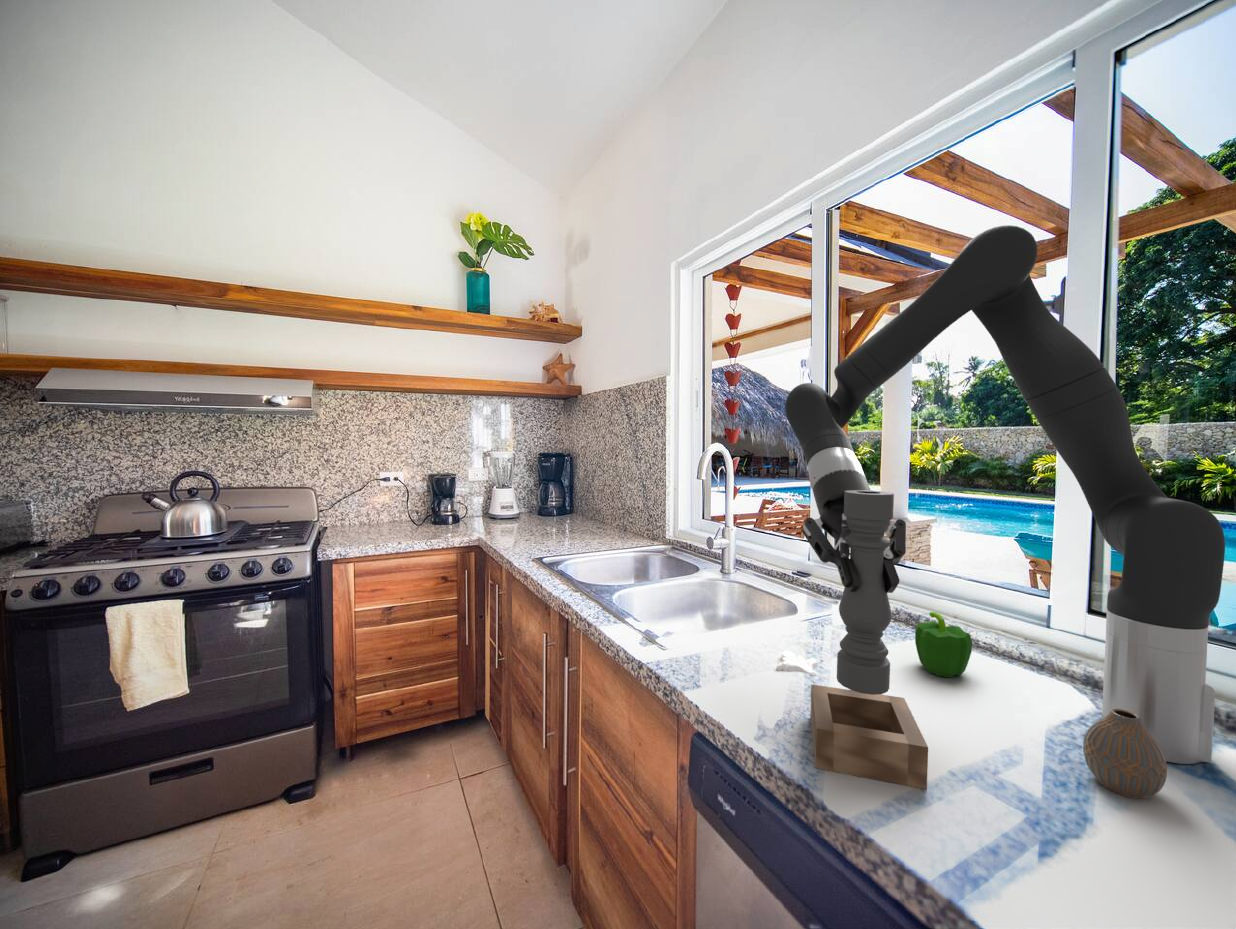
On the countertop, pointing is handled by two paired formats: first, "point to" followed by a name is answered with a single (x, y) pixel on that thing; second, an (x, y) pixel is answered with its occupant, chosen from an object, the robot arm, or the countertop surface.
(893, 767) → the socket block
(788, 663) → the acanthus leaf ornament
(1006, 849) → the countertop surface
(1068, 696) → the countertop surface
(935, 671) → the bell pepper
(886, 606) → the candle holder
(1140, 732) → the vase
